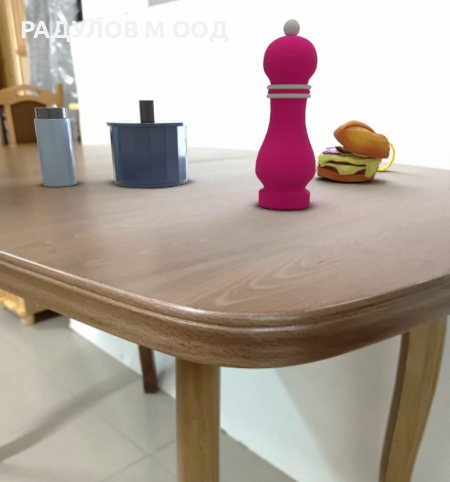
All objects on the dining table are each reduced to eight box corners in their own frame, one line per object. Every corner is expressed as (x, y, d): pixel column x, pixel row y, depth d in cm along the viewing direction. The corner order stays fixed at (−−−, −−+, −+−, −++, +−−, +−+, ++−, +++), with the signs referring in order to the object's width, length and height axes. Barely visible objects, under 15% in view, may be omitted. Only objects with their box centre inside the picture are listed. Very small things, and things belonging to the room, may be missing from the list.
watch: (358, 171, 89) (362, 136, 87) (358, 169, 92) (361, 135, 89) (393, 172, 88) (397, 137, 86) (391, 170, 90) (395, 136, 88)
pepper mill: (323, 203, 61) (336, 20, 53) (296, 213, 55) (308, 11, 48) (272, 197, 65) (278, 26, 57) (243, 206, 59) (245, 17, 52)
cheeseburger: (329, 172, 87) (347, 114, 82) (384, 192, 82) (407, 132, 77) (301, 177, 79) (320, 114, 74) (360, 200, 74) (384, 134, 70)
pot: (99, 184, 75) (94, 125, 71) (141, 175, 84) (138, 123, 81) (163, 189, 70) (160, 127, 67) (200, 179, 80) (199, 124, 77)
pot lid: (89, 130, 71) (86, 100, 70) (137, 126, 82) (136, 100, 80) (161, 132, 67) (160, 99, 65) (203, 128, 77) (202, 100, 75)
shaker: (35, 185, 74) (24, 107, 70) (59, 180, 78) (49, 107, 74) (61, 187, 72) (51, 107, 68) (83, 183, 76) (75, 107, 72)
